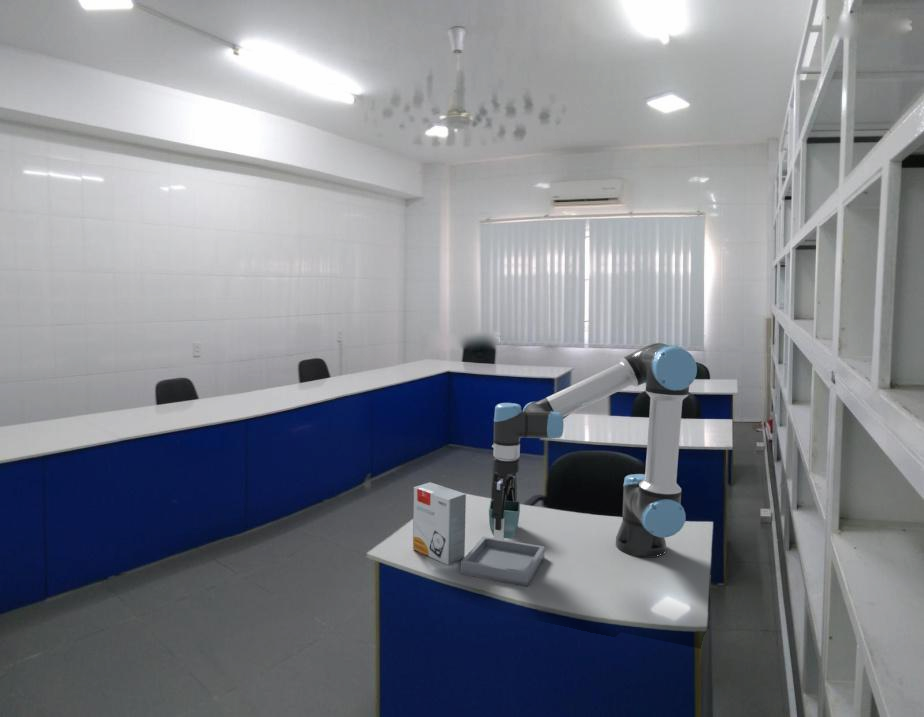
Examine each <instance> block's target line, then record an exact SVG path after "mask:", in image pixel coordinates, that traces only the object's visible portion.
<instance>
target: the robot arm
mask: <svg viewBox="0 0 924 717" xmlns="http://www.w3.org/2000/svg"><path fill="white" fill-rule="evenodd" d="M697 371H698V367H697V363H696V360H695V358H694V356H693V355H692V354H691V353H690V352H689V350H686V349H684V348H682V347H680V346H677V345H672V344H665V343H659V342H657V343H651V344H648V345H646V346H643V347H642V348H640V349H637V350H636V351H634V352H632V353H630V354H628V355H626V356H624V357H622V358H621V359H620V362H619V363H617V364H615V365H612V366H610V367H608V368H606V369H604V370H602V371H600V372H598V373H595V374H593V375H592V376H590V377H587V378H585V379H583V380H580V381H578V382H576V383H574V384H572V385H570V386H568V387H566V388H564V389H562V390H560V391H558V392H556V393H553V394H551V395H549V396H547V397H545V398H542V399H541V400H538V401H531V402H529V403H526V404H525V406H524V407H523V410H522V406H521V405H520V404H518V403H514V402H513V403H512V402H501V403H497V404H496V405H495V407H494V417H493V444H492V445H491V448H493V452H492V453H493V458H492V471H493V470H494V471H495V472H497V473H498V474H499V477H498V478H497V482H495V483H494V500H493V510H492V515H491V517H492V518H494V536H493V538H494V540H498V541H504V540H505V538H504V518H503V515H504V509H505V503H506V501H516V500H517V499H518V498H517V499H516V483H517V473H518V472H519V470H520V459H519V458H520V452H521V451H520V450H521V438H522V439H523V438H526V439H528V438H529V439H549V440H551V439H560V438H561V437H562V436H563V434H564V426H565V425H564V417H566V416H568V415H570V414H573V413H575V412H576V411H579V410H581V409H583V408H586V407H588V406H590V405H592V404H595V403H597V402H598V401H601V400H603V399H605V398H607V397H609V396H611V395H614V394H616V393H618V392H620V391H622V390H624V389H627V388H628V387H631V386H633V387H638V386H641V385H643V384H645V393H646V394H647V395H648V396H649V398H650V399H649V403H650V404H649V415H648V416H649V417H648V430H647V432H648V433H647V445H646V456H645V457H646V460H645V472H644V474H643V473H635V474H632V473H631V474H628V475H626V476H625V477H624V478H623V479H624V481H623V485H622V486H623V496H622V520H621V522H620V526H619V528H618V531H617V534H616V537H615V546H616V547H617V549H618V550H620V551H621V552H623V553H625V554H628V555H631V554H632V555H631V556H636V557H640V556H643V557H642V558H651V557H650V556H656V557H658V556H657V555H660V554H663V553H664V552H665V551H666V550H667V543H666V539H665V538H668V537H672V536H675V535H677V533H679V532H680V531H681V530H682V529H683V527H684V525H685V523H686V520H687V519H686V516H687V515H686V512H685V508H684V507H683V505H682V504H681V500H682V488H681V487H680V485H679V484H678V483H677V479H678V478H677V477H678V464H679V463H678V462H679V452H680V451H679V450H680V438H681V424H682V423H681V422H682V412H683V410H682V409H683V408H682V407H683V401H684V400H685V399H686V398H687V397H688V396H689V393H690V386H691V385H692V384H693V383H694V382H695V379H696V376H697ZM666 552H667V551H666ZM666 552H665V553H666ZM665 553H664V554H665ZM664 554H663V555H664ZM660 556H661V555H660Z"/></svg>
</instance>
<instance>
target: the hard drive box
mask: <svg viewBox="0 0 924 717" xmlns="http://www.w3.org/2000/svg"><path fill="white" fill-rule="evenodd" d="M466 502H467V494H466V493H463V492H461V491H458V490H456V489H452V488H449V487H445V486H443V485H440V484H436V483H433V482H431V481H430V482H426V483H423V484H420V485H416V486H414V487H413V506H412V507H413V509H412V510H413V511H412V514H413V515H412V520H413V521H412V527H413V528H412V550H414V551H416V552H418V553H419V554H422V555H426V556H428V557H430V558H431V559H434V560H436V561H437V560H438V561H437V562H439V561H440V563H442V564H445V565H448V566H449V565H451V564H453V563H455V562H458V561H460V560H463V559H464V558H465V557H466V556H465V552H466V550H465V549H466V548H465V547H466V544H465V543H466V510H467V509H466V506H467V505H466V504H467V503H466Z"/></svg>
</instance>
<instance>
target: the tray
mask: <svg viewBox="0 0 924 717" xmlns="http://www.w3.org/2000/svg"><path fill="white" fill-rule="evenodd" d="M545 550H546V549H545V546H543V545H537V544H533V543H532V544H531V543H526V542H525V543H524V542H519V541H514V540H509V539H508V540H507V539H504V541H498V540H494V537H489V536H488V537H487V536H483V537H481V539H480V540H479V541H478V542H476V544H475V545H474V546H473V548H471V549H470V551H469V552H468V553H467V554H466V556H465V557H464V558H462V559H461V561H460V575H465V574H466V576H470V575H471V577H475V576H477V577H476V578H480V577H482V579H486V578H487V580H491V579H492V580H493V581H496V580H498V582H502V581H503V583H507V582H508V584H512V583H513V584H514V585H517V584H518V585H517V586H523V585H524V586H523V587H529V585H530V583H531V582H532V580H533V578H534V577H533V576H535V575H536V573H537V571H538V570H539V568H540V566H541V564H542V563H543V561H544V559H545ZM542 560H543V561H542ZM541 562H542V563H541ZM492 580H491V581H492Z"/></svg>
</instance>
